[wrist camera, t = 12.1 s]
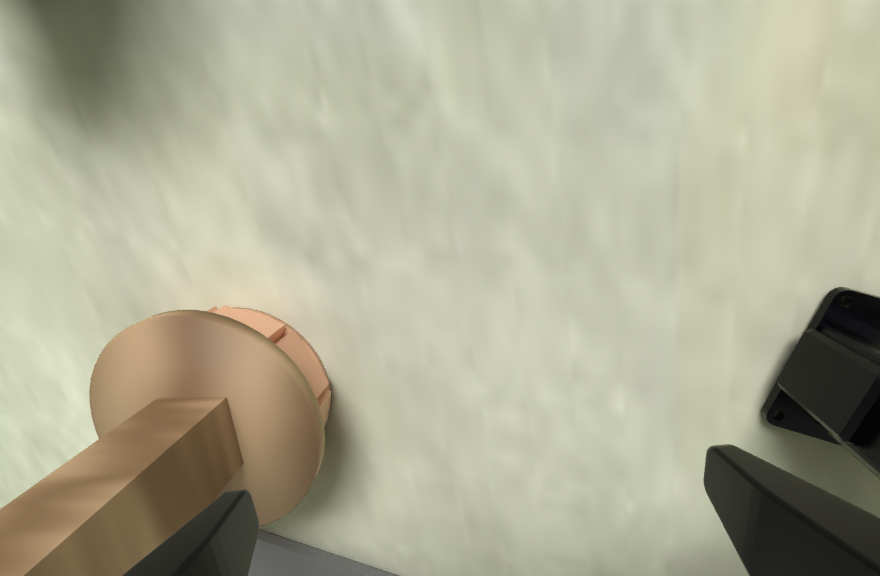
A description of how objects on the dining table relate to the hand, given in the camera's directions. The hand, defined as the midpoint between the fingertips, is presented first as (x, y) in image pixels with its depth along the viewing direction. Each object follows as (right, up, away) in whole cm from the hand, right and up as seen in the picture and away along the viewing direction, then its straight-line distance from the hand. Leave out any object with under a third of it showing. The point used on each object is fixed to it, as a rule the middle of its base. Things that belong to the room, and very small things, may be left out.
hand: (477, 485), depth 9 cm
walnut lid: (-11, -2, +12) cm, 17 cm away
